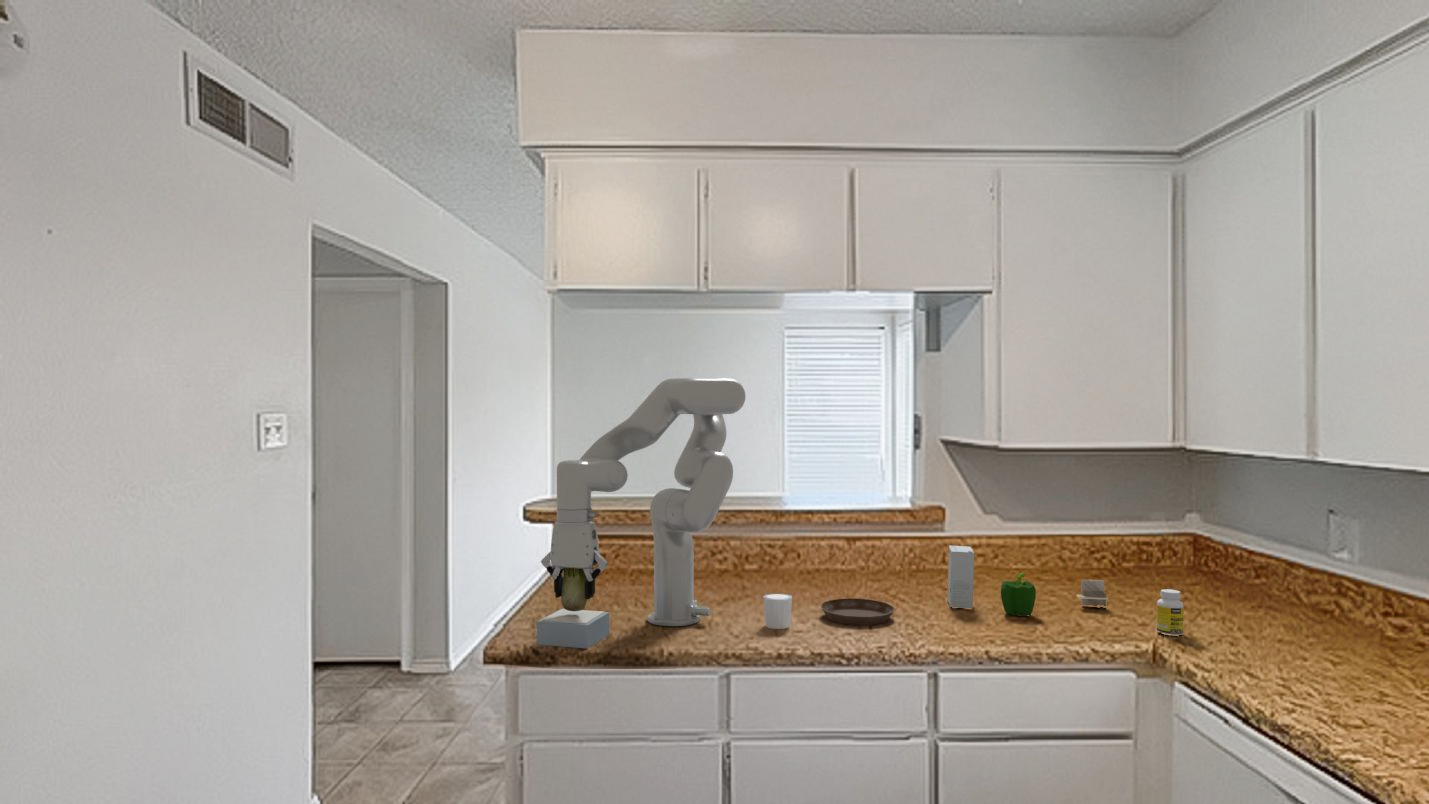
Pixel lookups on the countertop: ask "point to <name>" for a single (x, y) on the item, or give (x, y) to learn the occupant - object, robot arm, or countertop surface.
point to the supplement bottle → (1170, 612)
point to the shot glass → (777, 610)
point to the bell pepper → (1018, 596)
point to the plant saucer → (857, 611)
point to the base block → (573, 628)
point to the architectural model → (1092, 593)
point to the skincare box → (960, 576)
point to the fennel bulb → (573, 589)
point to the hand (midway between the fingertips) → (574, 596)
